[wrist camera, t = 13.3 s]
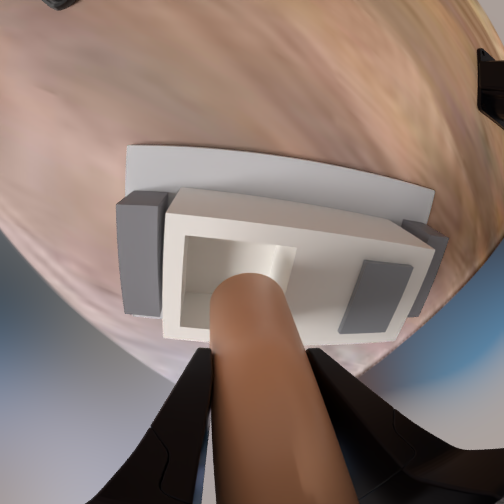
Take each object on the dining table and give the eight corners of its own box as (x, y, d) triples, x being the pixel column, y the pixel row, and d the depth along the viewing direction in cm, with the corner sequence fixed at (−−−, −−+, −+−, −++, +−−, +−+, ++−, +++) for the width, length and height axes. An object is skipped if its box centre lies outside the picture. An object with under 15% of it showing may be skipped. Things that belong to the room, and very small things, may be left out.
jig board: (426, 187, 17) (463, 202, 14) (386, 313, 22) (409, 342, 18) (132, 144, 14) (107, 149, 10) (136, 307, 18) (122, 345, 15)
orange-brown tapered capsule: (290, 273, 11) (393, 518, 2) (279, 332, 12) (338, 537, 4) (209, 271, 10) (221, 556, 2) (209, 333, 11) (222, 555, 3)
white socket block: (388, 219, 17) (438, 252, 12) (361, 297, 19) (396, 344, 14) (181, 186, 14) (164, 215, 10) (174, 284, 17) (162, 341, 12)
